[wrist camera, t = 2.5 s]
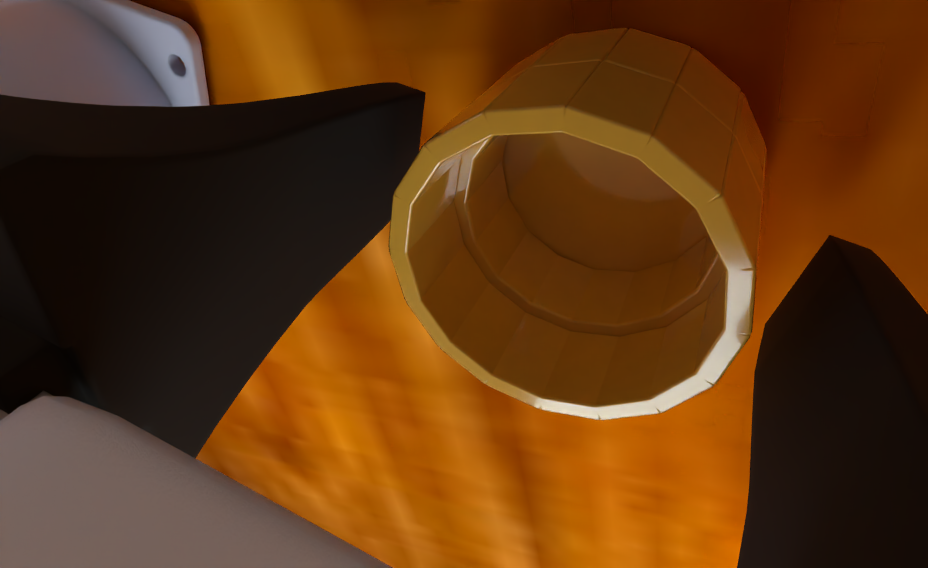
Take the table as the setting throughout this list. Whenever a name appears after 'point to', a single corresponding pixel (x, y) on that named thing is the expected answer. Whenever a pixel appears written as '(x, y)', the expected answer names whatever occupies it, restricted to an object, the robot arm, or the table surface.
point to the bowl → (589, 227)
